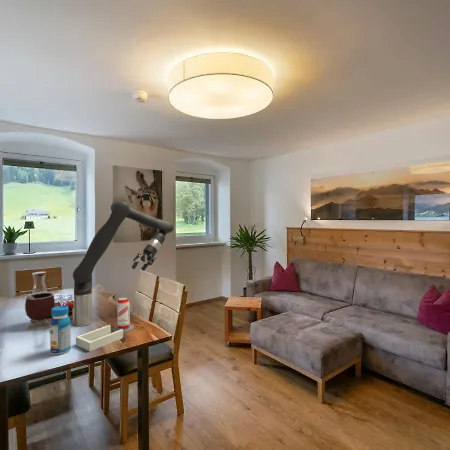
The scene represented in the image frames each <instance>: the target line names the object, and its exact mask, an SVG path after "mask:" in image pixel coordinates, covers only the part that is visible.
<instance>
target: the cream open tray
mask: <svg viewBox="0 0 450 450" xmlns="http://www.w3.org/2000/svg"><path fill="white" fill-rule="evenodd" d="M111 328H112V327H111V324H108V325H105V326H103V327H100V328H97V329H94V330H91V331H89V332H85V333H83V334H81V335H78V336H75V346H77V347H79V348H81V349H82V350H86V351H88V352H92V351H95V350H97V349H100V348H102V347H104V346H106V345H108V344H111V343H113V342H117V341H119V340H121V339H123V338H124V333H123V330H122V329H121V330H118V331H116V332H114V331H113V332H112V330H111Z"/></svg>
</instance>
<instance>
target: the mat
mask: <svg viewBox="0 0 450 450" xmlns="http://www.w3.org/2000/svg"><path fill="white" fill-rule="evenodd" d="M134 329H135V325H134V324H131V323H130V326H129V327H128V328H127V329H122V330H123V334H124V333H129V332H131V331H133V330H134ZM118 330H121V329H119V328H118V325H116V326H114V327H112V331H113V332H116V331H118Z"/></svg>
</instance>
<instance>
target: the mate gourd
mask: <svg viewBox="0 0 450 450" xmlns="http://www.w3.org/2000/svg"><path fill="white" fill-rule="evenodd" d="M23 296H24V297H25V302H24V309H25V314H26V316H27V317H28V318H29V319H30V320H32V321H33V320H34V321H36V322H33V323H31V324H29V325H28V326H27V330H28V331H33V332H34V331H42V330H46V329H48V328H49V329H50V327H51V326H50V321H51V320H45V319H47V318H50V317H52V315H51V310H52V308H54V307H56V306H55V305H56V304H55V297H54V293H53V292H38V293H33V294H25V293H23V294H22V297H23Z"/></svg>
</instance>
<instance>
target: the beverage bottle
mask: <svg viewBox="0 0 450 450" xmlns="http://www.w3.org/2000/svg"><path fill="white" fill-rule="evenodd" d="M51 317H52V318H51V320H49V321H50V326H51V327H49V341H50V343H49V344H50V354H51V355H54V356H55V355H56V356H58V355H63V354H66V353H68V352H69V351H71V349H72V345H71V343H72V342H71V341H72V340H71V339H72V337H71V336H72V333H71V332H72V331H71V330H72V326H71V318H70V317H69V306H67V305H57V306H55V307H54V308H52V310H51Z"/></svg>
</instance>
